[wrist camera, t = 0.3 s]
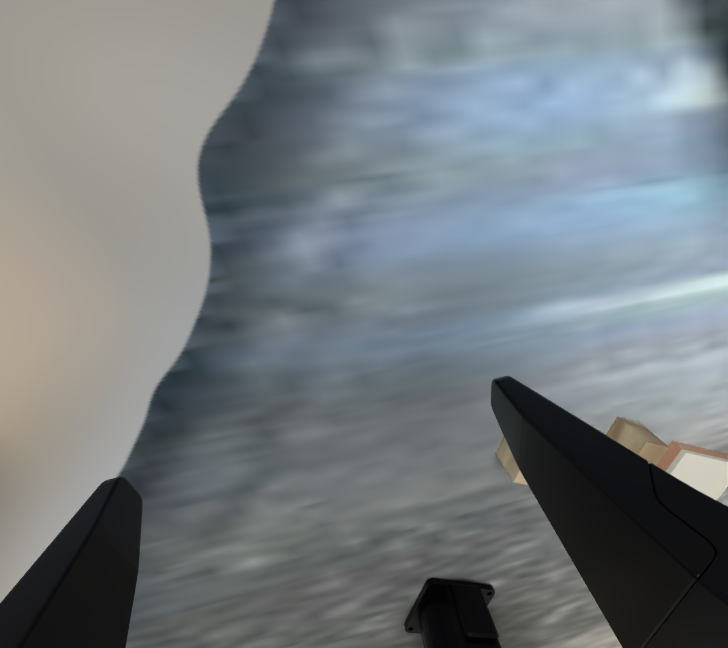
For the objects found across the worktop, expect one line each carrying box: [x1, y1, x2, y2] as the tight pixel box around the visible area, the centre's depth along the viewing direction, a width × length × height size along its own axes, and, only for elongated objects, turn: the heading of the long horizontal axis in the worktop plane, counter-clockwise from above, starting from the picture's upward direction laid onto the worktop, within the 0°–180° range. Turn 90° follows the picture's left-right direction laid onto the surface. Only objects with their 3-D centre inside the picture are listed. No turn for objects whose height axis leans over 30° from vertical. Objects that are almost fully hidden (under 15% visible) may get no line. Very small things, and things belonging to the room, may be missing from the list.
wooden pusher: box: [496, 417, 669, 485], centre depth 30 cm, size 10×8×3 cm
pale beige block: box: [656, 441, 728, 500], centre depth 34 cm, size 6×6×2 cm
